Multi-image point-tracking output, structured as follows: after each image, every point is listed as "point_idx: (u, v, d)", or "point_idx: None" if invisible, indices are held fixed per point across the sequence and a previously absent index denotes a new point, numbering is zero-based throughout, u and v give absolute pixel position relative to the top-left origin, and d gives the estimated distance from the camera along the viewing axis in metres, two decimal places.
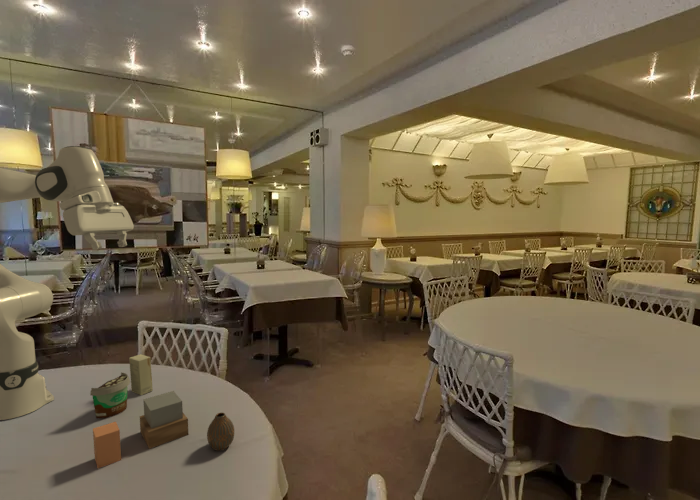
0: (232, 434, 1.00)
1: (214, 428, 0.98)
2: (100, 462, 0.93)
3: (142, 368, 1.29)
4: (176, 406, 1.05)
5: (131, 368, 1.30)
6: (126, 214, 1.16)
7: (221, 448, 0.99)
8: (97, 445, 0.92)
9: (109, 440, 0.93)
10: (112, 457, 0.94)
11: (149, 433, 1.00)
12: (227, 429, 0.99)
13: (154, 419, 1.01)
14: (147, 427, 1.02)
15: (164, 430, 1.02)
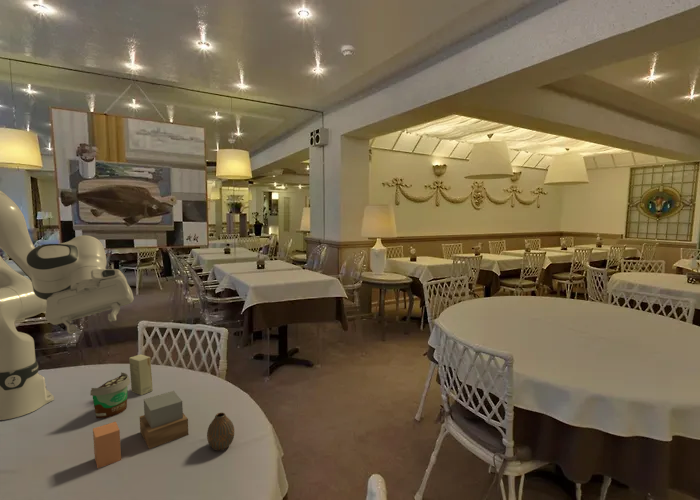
0: (232, 434, 1.00)
1: (214, 428, 0.98)
2: (100, 462, 0.93)
3: (142, 368, 1.29)
4: (176, 406, 1.05)
5: (131, 368, 1.30)
6: None
7: (221, 448, 0.99)
8: (97, 445, 0.92)
9: (109, 440, 0.93)
10: (112, 457, 0.94)
11: (149, 433, 1.00)
12: (227, 429, 0.99)
13: (154, 419, 1.01)
14: (147, 427, 1.02)
15: (164, 430, 1.02)
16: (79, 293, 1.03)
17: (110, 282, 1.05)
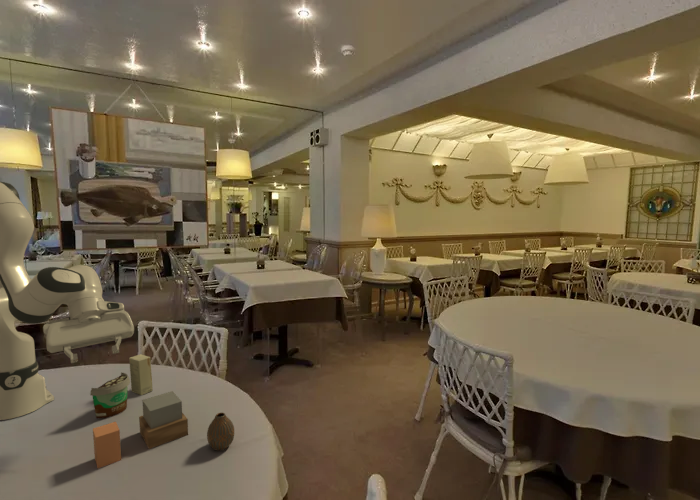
0: (232, 434, 1.00)
1: (214, 428, 0.98)
2: (100, 462, 0.93)
3: (142, 368, 1.29)
4: (175, 407, 1.05)
5: (131, 368, 1.30)
6: None
7: (221, 448, 0.99)
8: (97, 445, 0.92)
9: (109, 440, 0.93)
10: (112, 457, 0.94)
11: (149, 433, 1.00)
12: (227, 429, 0.99)
13: (154, 419, 1.01)
14: (146, 427, 1.01)
15: (163, 431, 1.02)
16: (81, 323, 1.05)
17: (114, 315, 1.10)
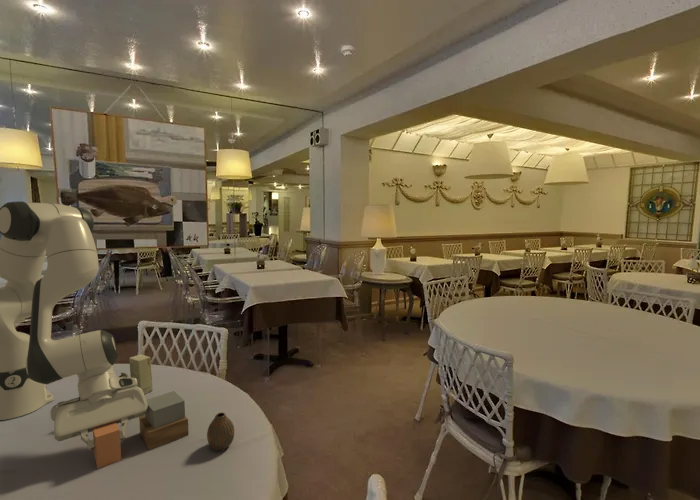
0: (232, 434, 1.00)
1: (214, 428, 0.98)
2: (100, 462, 0.93)
3: (142, 368, 1.29)
4: (178, 406, 1.05)
5: (131, 368, 1.30)
6: None
7: (221, 448, 0.99)
8: (97, 445, 0.92)
9: (109, 440, 0.93)
10: (112, 457, 0.94)
11: (149, 434, 0.99)
12: (227, 429, 0.99)
13: (157, 419, 1.01)
14: (147, 428, 1.01)
15: (164, 431, 1.02)
16: (92, 404, 0.97)
17: (127, 392, 1.02)
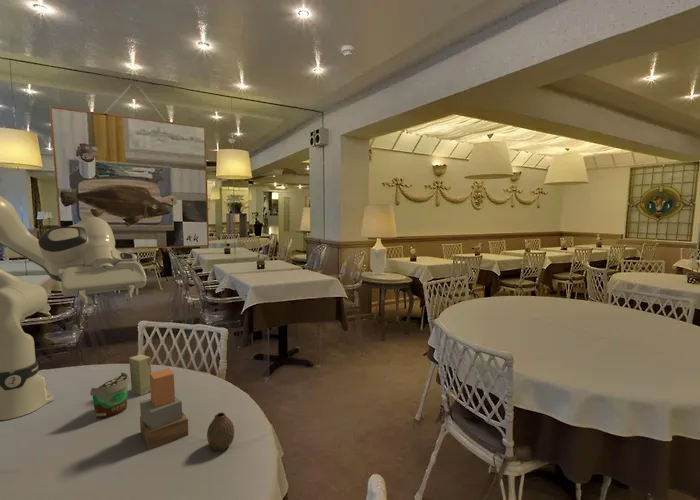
0: (232, 434, 1.00)
1: (214, 428, 0.98)
2: (157, 402, 1.03)
3: (142, 368, 1.29)
4: (175, 407, 1.05)
5: (131, 368, 1.30)
6: None
7: (221, 448, 0.99)
8: (155, 386, 1.02)
9: (165, 383, 1.04)
10: (167, 398, 1.04)
11: (149, 433, 1.00)
12: (227, 429, 0.99)
13: (154, 420, 1.01)
14: (146, 427, 1.01)
15: (163, 431, 1.02)
16: (95, 269, 1.06)
17: (127, 264, 1.11)
